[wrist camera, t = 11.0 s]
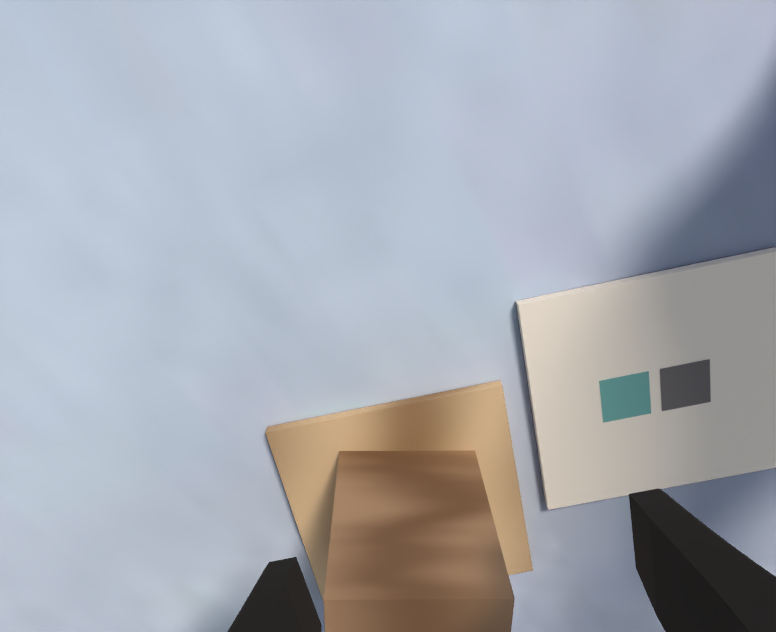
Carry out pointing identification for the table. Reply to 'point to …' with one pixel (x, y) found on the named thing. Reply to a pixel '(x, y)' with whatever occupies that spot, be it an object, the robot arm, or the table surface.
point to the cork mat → (402, 433)
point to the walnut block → (414, 546)
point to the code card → (653, 379)
